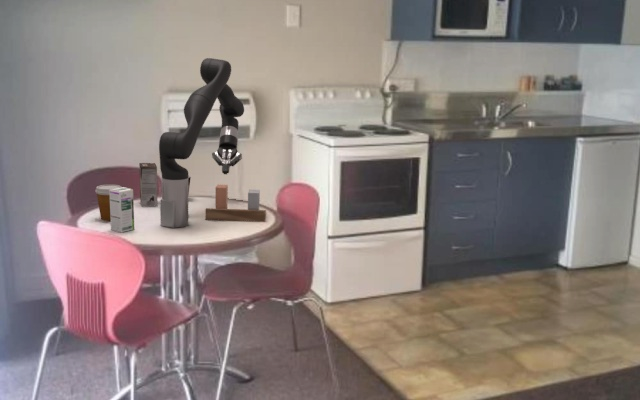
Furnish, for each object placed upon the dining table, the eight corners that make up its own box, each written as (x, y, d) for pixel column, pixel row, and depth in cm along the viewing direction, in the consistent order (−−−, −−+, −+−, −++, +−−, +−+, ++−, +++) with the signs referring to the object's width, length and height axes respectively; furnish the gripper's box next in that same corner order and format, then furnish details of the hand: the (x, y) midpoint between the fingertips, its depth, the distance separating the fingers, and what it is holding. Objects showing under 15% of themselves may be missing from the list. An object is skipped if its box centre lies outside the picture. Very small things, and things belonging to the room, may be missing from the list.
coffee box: (139, 201, 274) (139, 162, 271) (156, 201, 276) (155, 162, 273) (141, 207, 266) (140, 166, 262) (157, 206, 268) (157, 166, 264)
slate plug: (248, 214, 259) (249, 189, 257) (259, 215, 259) (259, 189, 257) (247, 218, 253) (248, 192, 251) (258, 219, 253) (258, 193, 251)
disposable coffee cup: (126, 216, 251) (126, 184, 248) (118, 222, 242) (117, 190, 239) (101, 215, 251) (100, 183, 248) (92, 221, 242) (91, 189, 239)
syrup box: (121, 233, 229) (120, 191, 226) (110, 229, 232) (109, 188, 229) (134, 229, 234) (133, 188, 230) (123, 226, 237) (122, 186, 234)
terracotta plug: (217, 209, 266) (217, 184, 264) (227, 209, 266) (227, 184, 264) (215, 212, 260) (215, 187, 258) (225, 213, 260) (226, 187, 258)
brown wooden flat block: (209, 212, 262) (209, 202, 261) (266, 213, 263) (266, 204, 262) (205, 219, 250) (205, 209, 249) (264, 221, 251) (264, 211, 250)
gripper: (212, 133, 279) (208, 167, 270) (244, 134, 280) (241, 168, 270) (213, 144, 286) (209, 177, 276) (244, 145, 286) (242, 179, 277)
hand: (225, 173), depth 273 cm, fingers closed
